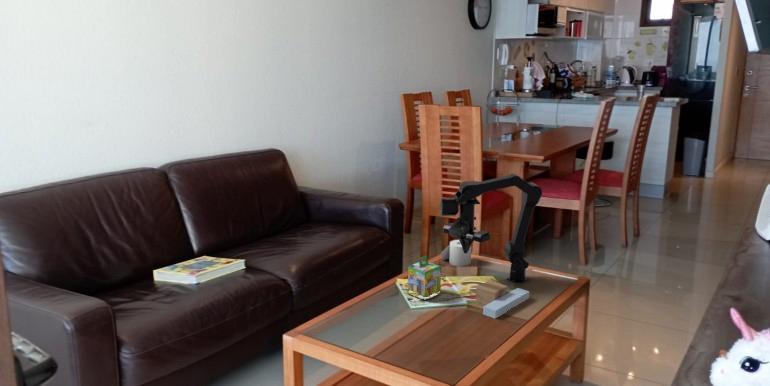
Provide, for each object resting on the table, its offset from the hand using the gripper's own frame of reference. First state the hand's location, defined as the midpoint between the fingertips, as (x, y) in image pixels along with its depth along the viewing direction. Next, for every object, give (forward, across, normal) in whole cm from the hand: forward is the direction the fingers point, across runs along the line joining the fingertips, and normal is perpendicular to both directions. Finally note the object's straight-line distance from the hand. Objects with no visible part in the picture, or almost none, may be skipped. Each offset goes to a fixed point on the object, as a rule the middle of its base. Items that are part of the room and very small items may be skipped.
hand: (465, 253), depth 245 cm
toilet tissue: (+12, -16, +15) cm, 25 cm away
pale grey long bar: (+12, +24, -8) cm, 28 cm away
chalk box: (+12, -4, -20) cm, 24 cm away
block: (+12, +18, -8) cm, 23 cm away
